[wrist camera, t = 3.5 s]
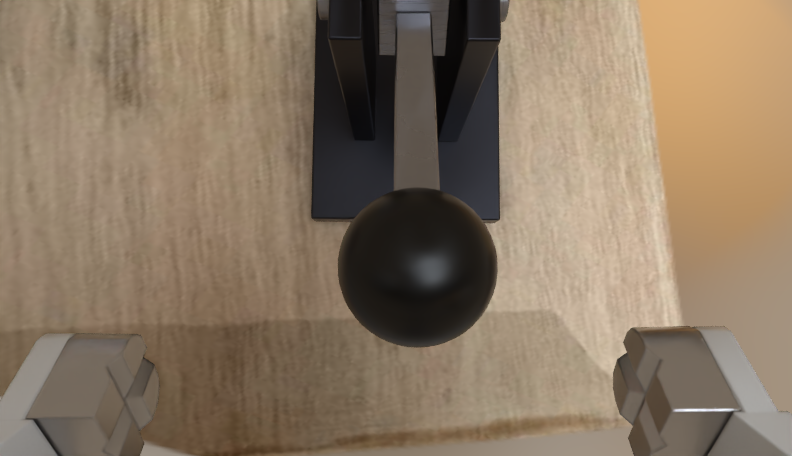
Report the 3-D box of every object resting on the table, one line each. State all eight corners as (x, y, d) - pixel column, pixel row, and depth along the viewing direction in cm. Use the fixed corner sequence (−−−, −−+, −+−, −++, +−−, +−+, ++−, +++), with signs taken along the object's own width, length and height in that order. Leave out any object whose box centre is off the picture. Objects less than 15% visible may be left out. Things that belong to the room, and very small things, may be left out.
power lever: (491, 371, 14) (519, 302, 11) (339, 370, 14) (324, 300, 11) (460, 18, 21) (472, -81, 18) (360, 17, 21) (355, -82, 18)
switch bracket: (495, 223, 29) (573, 171, 17) (314, 221, 29) (253, 168, 17) (493, -8, 31) (564, -220, 18) (319, -10, 31) (266, -223, 18)
